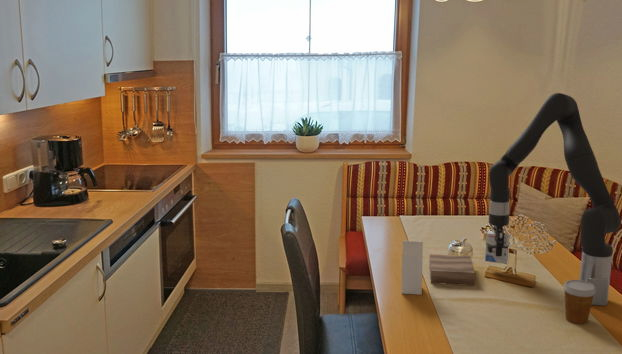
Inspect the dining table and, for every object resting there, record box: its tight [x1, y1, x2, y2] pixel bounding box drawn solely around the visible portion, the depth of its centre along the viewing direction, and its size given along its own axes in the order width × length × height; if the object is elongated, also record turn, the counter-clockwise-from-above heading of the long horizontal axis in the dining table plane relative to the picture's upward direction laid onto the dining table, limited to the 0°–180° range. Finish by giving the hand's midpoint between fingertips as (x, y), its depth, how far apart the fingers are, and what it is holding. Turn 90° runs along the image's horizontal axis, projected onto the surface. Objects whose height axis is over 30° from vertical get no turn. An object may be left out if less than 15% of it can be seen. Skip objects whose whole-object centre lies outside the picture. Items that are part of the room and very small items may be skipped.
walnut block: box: [429, 254, 476, 286], centre depth 221 cm, size 18×16×5 cm
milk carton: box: [401, 240, 424, 296], centre depth 206 cm, size 7×7×19 cm
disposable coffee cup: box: [562, 279, 596, 325], centre depth 182 cm, size 10×10×12 cm
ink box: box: [484, 229, 511, 265], centre depth 223 cm, size 8×5×12 cm, turn 63°
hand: (497, 253), depth 223 cm, fingers closed on ink box, 6 cm apart
